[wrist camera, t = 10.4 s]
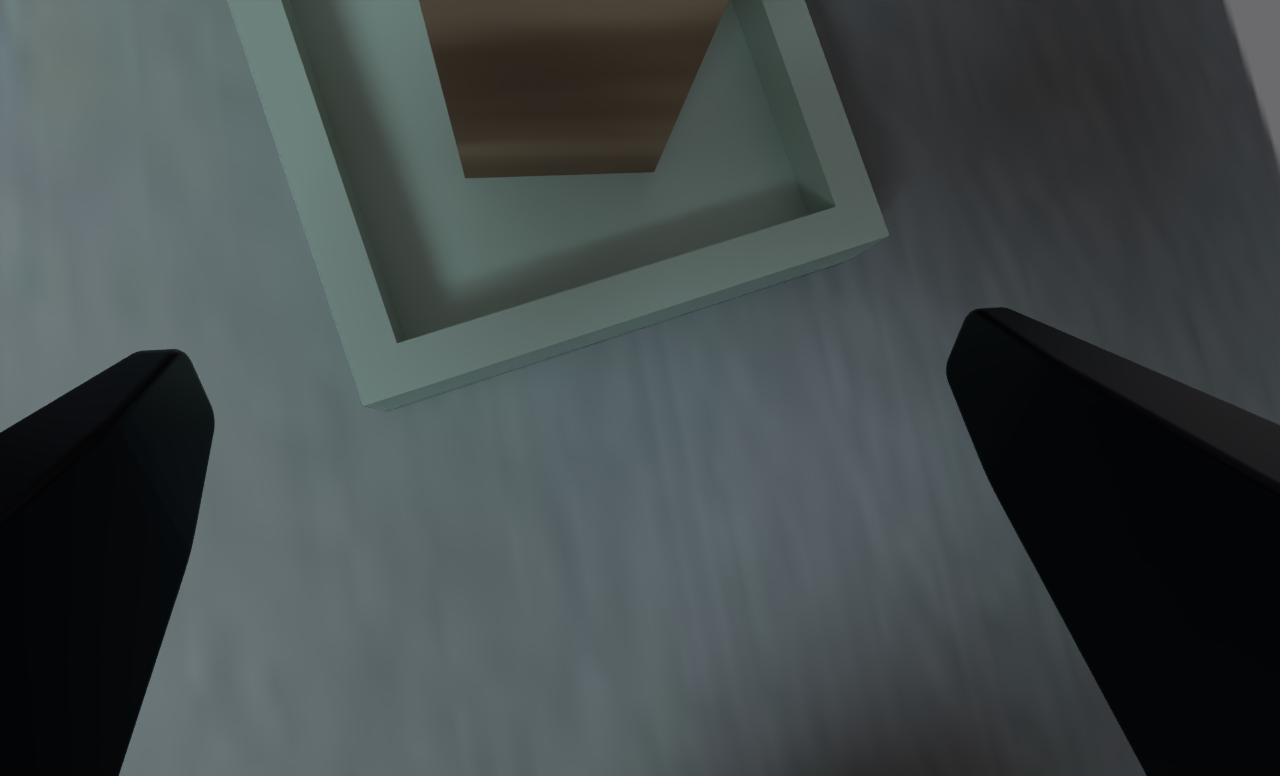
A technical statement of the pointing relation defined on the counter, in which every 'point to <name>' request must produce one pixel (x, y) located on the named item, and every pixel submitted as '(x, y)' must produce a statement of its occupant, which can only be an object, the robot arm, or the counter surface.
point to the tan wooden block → (566, 80)
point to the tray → (544, 195)
